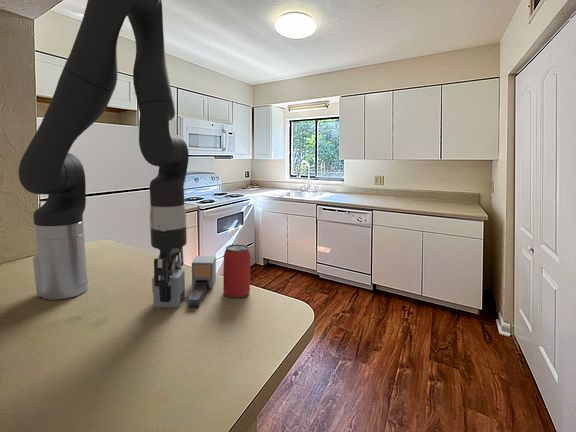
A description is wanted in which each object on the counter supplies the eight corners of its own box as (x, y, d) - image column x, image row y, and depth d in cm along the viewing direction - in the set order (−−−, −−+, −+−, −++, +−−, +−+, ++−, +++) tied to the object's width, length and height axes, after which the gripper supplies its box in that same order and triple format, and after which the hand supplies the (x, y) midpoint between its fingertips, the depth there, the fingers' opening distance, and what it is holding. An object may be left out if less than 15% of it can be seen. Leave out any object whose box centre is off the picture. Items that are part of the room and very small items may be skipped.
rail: (187, 307, 71) (187, 299, 71) (201, 280, 87) (201, 273, 86) (198, 307, 71) (198, 299, 71) (210, 280, 87) (210, 273, 87)
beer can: (244, 300, 76) (245, 252, 74) (219, 297, 77) (219, 249, 75) (253, 289, 82) (254, 245, 80) (229, 286, 84) (229, 242, 81)
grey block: (179, 307, 71) (178, 277, 70) (151, 307, 71) (150, 277, 70) (184, 297, 76) (184, 269, 75) (159, 297, 76) (158, 269, 75)
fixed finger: (191, 289, 81) (191, 263, 80) (196, 280, 87) (196, 255, 86) (212, 289, 82) (212, 263, 80) (215, 280, 87) (215, 256, 86)
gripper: (161, 218, 77) (163, 281, 80) (138, 231, 63) (142, 307, 66) (192, 219, 78) (194, 281, 81) (177, 232, 64) (179, 307, 67)
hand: (171, 293), depth 73 cm, fingers open, 8 cm apart
